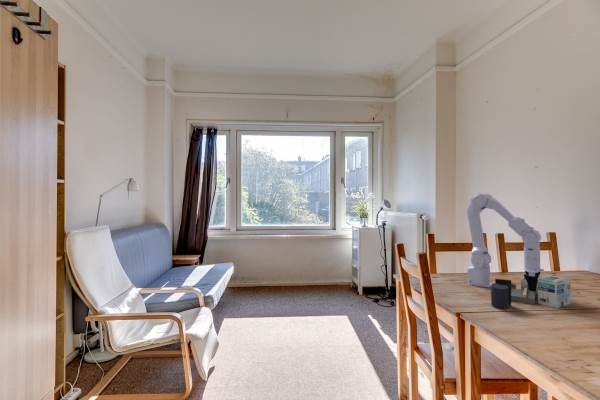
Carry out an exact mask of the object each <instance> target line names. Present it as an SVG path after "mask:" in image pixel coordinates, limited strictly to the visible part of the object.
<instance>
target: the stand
mask: <svg viewBox="0 0 600 400" xmlns="http://www.w3.org/2000/svg"><path fill="white" fill-rule="evenodd" d="M519 289H520V288H518V289H511V302H516V303H517V302H519V303H525V304H532V305H536V304H535V303H536V301H535V300H536V296H535V292H534V291H527V288H524V290H519Z"/></svg>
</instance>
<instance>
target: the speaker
mask: <svg viewBox="0 0 600 400" xmlns="http://www.w3.org/2000/svg"><path fill="white" fill-rule="evenodd" d="M511 282H512V280H511V279H502V278H495V280H494V283H491V284H492V285H491V287H490V304H491V306H492V307H493V308H496V309H501V310H504V309H505V310H507V309H508V308H509V306H512V301H511Z"/></svg>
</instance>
